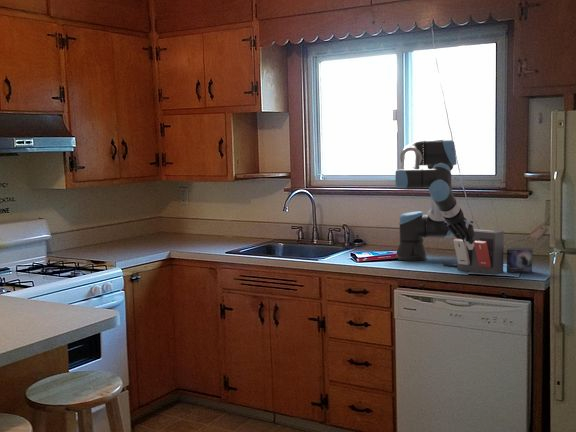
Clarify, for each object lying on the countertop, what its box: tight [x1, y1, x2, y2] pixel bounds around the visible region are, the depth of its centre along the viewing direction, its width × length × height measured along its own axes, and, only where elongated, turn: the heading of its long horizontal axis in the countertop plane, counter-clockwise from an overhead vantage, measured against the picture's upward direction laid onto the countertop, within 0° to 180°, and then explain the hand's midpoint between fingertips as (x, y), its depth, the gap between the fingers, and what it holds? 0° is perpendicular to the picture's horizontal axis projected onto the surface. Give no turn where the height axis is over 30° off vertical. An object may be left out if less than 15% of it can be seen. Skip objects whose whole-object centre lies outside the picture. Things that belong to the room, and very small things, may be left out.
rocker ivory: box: [453, 238, 470, 265], centre depth 288 cm, size 5×2×12 cm, turn 46°
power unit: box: [442, 227, 505, 275], centre depth 293 cm, size 28×9×18 cm, turn 46°
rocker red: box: [474, 241, 491, 267], centre depth 281 cm, size 5×2×12 cm, turn 46°
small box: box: [506, 246, 533, 275], centre depth 285 cm, size 11×6×10 cm, turn 69°
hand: (471, 247), depth 274 cm, fingers closed
